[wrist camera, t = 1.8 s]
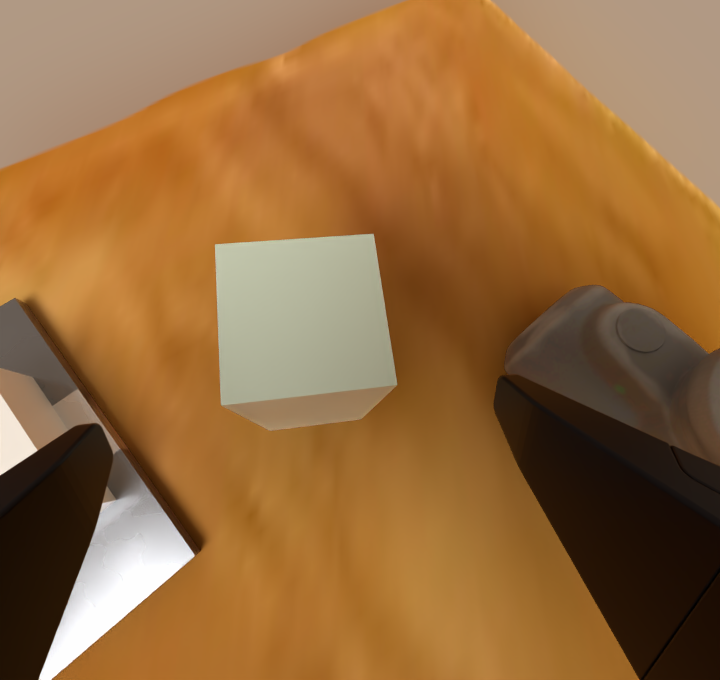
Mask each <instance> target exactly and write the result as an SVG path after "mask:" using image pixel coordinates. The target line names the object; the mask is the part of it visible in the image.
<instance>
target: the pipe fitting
mask: <svg viewBox="0 0 720 680" xmlns="http://www.w3.org/2000/svg"><path fill="white" fill-rule="evenodd" d="M504 369H505V371H506V372H507V373H508V375H510V374H518V375H520V376H522V377H525V378H527V379H529V380H531V381H533V382H535V383H538V384H540V385H542V386H544V387H546V388H549V389H551V390H553V391H555V392H557V393H560V394H562V395H564V396H566V397H568V398H570V399H573V400H575V401H577V402H579V403H581V404H584V405H586V406H588V407H590V408H592V409H595V410H597V411H599V412H601V413H603V414H606V415H608V416H610V417H612V418H614V419H616V420H619V421H621V422H623V423H625V424H627V425H630V426H632V427H634V428H636V429H638V430H641V431H643V432H645V433H647V434H649V435H652V436H654V437H656V438H658V439H660V440H663V441H665V442H667V443H668V444H669V445H670V446H671V445H674V446H676V447H678V448H680V449H682V450H684V451H687V452H689V453H691V454H693V455H695V456H698V457H700V458H702V459H705V460H707V461H709V462H711V463H714V464H716V465H718V466H720V348H719V349H717V350H715V351H713V352H712V353H710V354H709V353H707V352H706V351H705V350H704V349H703V348H702V347H701V346H699V345H698V344H697V343H696V342H695V341H694V340H693V339H691V338H690V337H689V336H688V335H687V334H685V333H684V332H683V331H682V330H680V329H679V328H678V327H677V326H676V325H674V324H673V323H672V322H671V321H670V320H668V319H667V318H666V317H665V316H663V315H662V314H660V313H659V312H657V311H655V310H654V309H651V308H649V307H647V306H644V305H640V304H635V303H624V302H623V301H622V300H621V299H619V298H618V297H617V296H616V295H614V294H613V293H612V292H610V291H609V290H608V289H606V288H605V287H603V286H599V285H588V286H582V287H577V288H574V289H572V290H571V291H569V292H568V293H566V294H565V295H564V296H563V297H561V298H560V299H559V300H558V301H557V302H555V303H554V304H553V305H552V306H551V307H550V308H548V309H547V310H546V311H545V312H544V313H543V314H542V315H541V316H539V317H538V318H537V319H536V320H535V321H534V322H533V323H532V324H531V325H529V326H528V327H527V328H526V329H525V330H524V331H523V332H522V333H521V334H520V335H519V336H518V337H517V338H516V339H515V340H514V341H513V342H512V343H511V344H510V345H509V347H508V349H507V351H506V356H505V363H504Z"/></svg>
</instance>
